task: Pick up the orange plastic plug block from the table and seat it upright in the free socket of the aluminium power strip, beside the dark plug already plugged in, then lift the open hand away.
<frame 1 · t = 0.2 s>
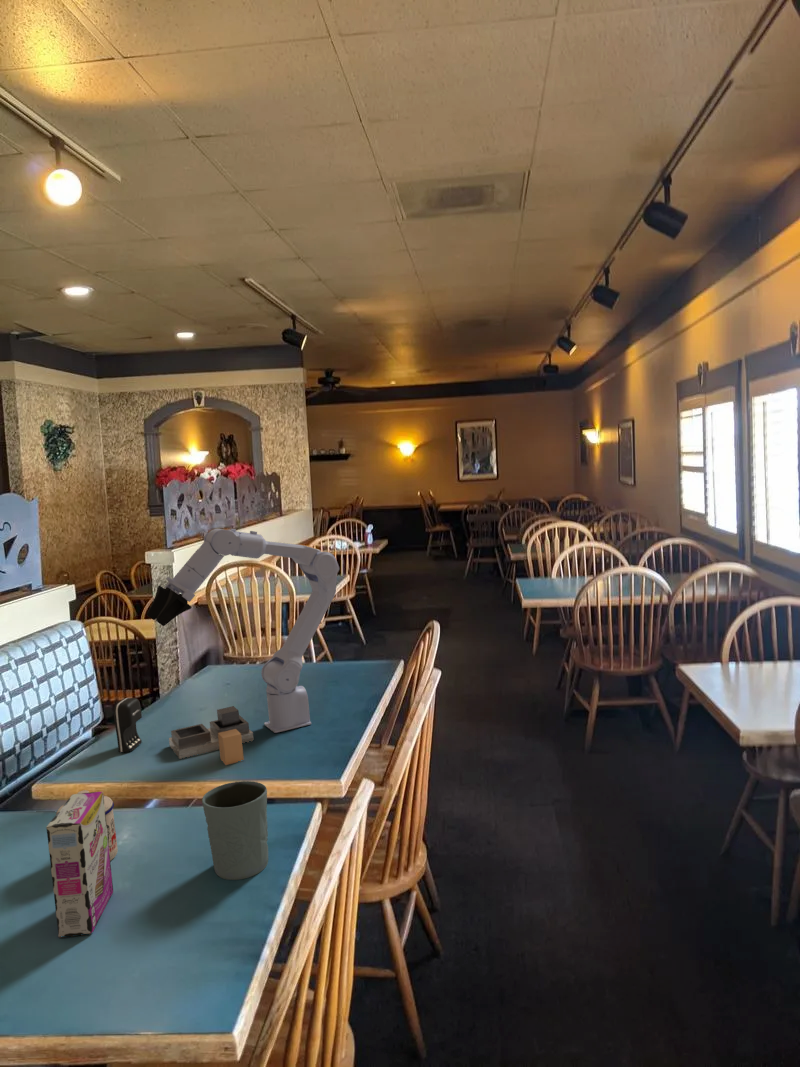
hand: (154, 620, 173), 31 cm above the table, tool tilted 45°, fingers open, 7 cm apart
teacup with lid: (92, 855, 133), on the table
plug: (232, 760, 171), on the table
battery: (132, 748, 183), on the table
power strip: (211, 743, 182), on the table
candy bar box: (88, 915, 115), on the table
grey cup: (241, 865, 126), on the table
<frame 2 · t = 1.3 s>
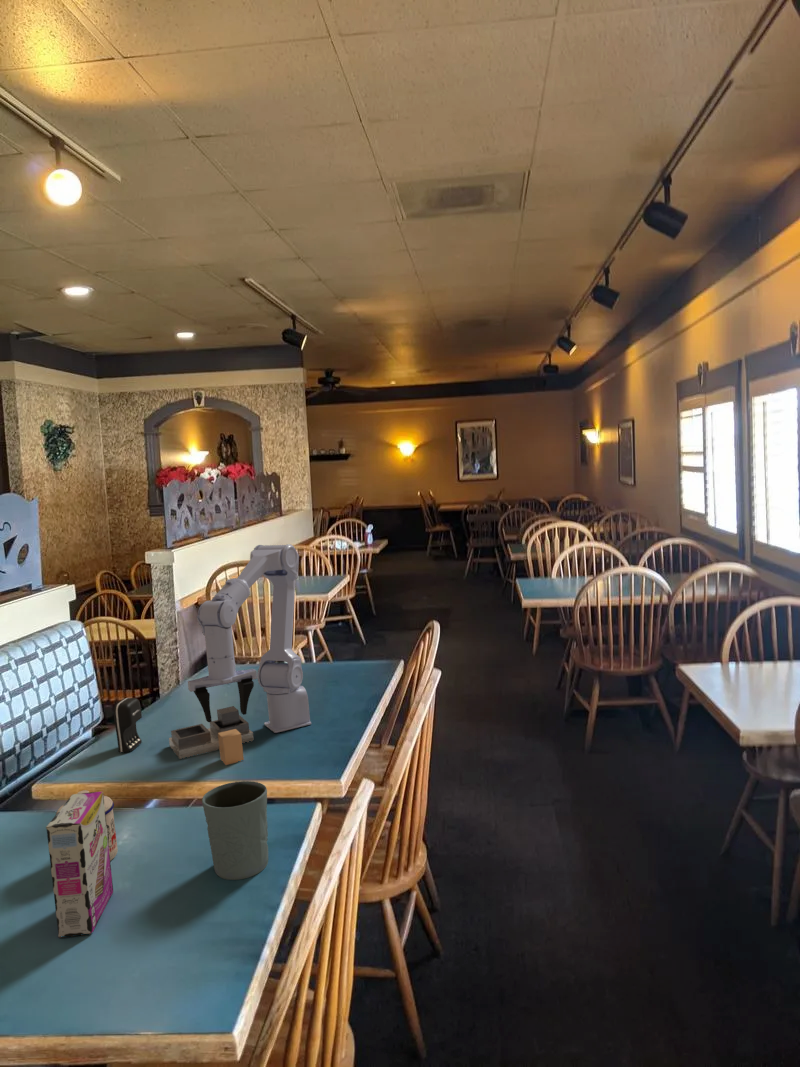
hand: (226, 717, 170), 10 cm above the table, tool pointing down, fingers open, 7 cm apart
nothing on the table moved.
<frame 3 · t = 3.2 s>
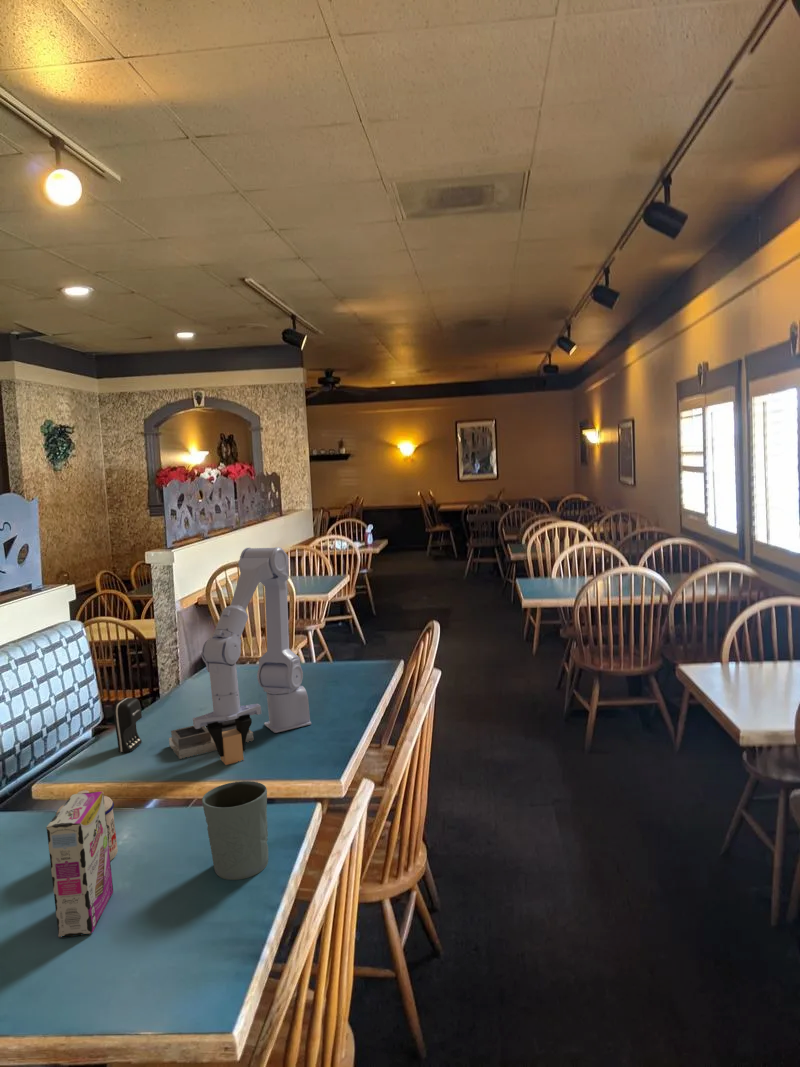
hand: (231, 752, 171), 2 cm above the table, tool pointing down, fingers closed on plug, 4 cm apart
plug: (232, 759, 171), on the table, touching gripper
everything else where it was.
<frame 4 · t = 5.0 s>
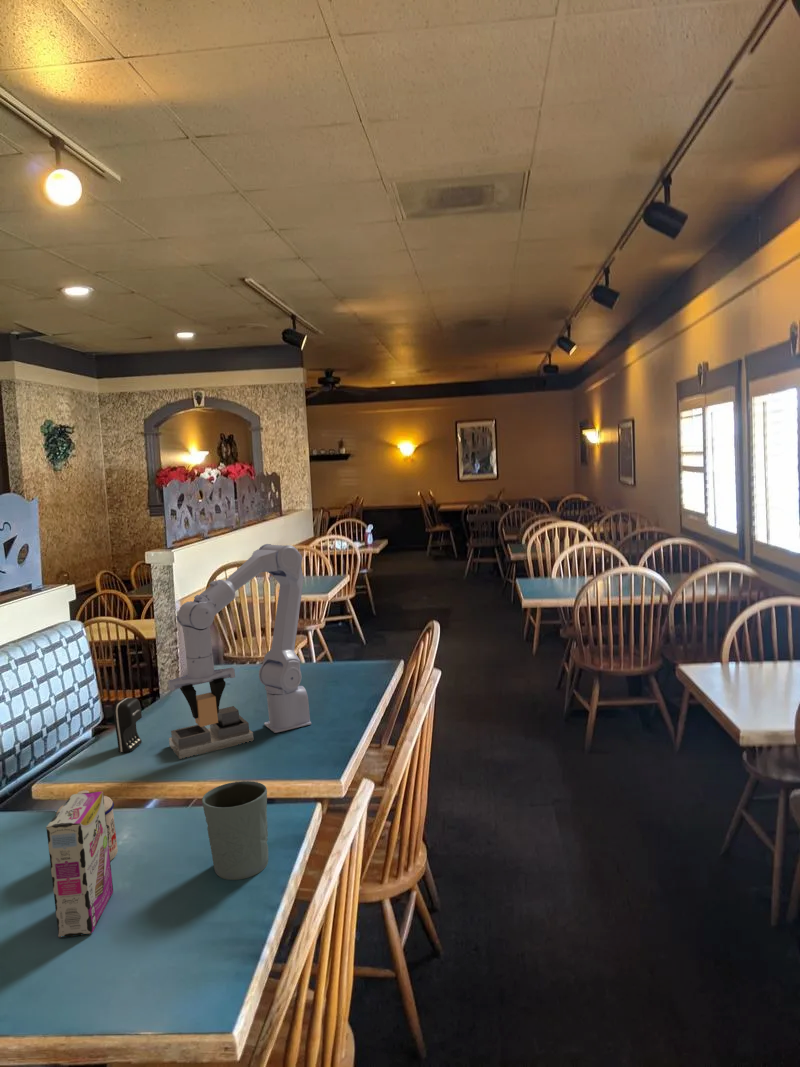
hand: (205, 714, 175), 9 cm above the table, tool pointing down, fingers closed on plug, 4 cm apart
plug: (206, 722, 175), point 7 cm above the table, touching gripper
everything else where it was.
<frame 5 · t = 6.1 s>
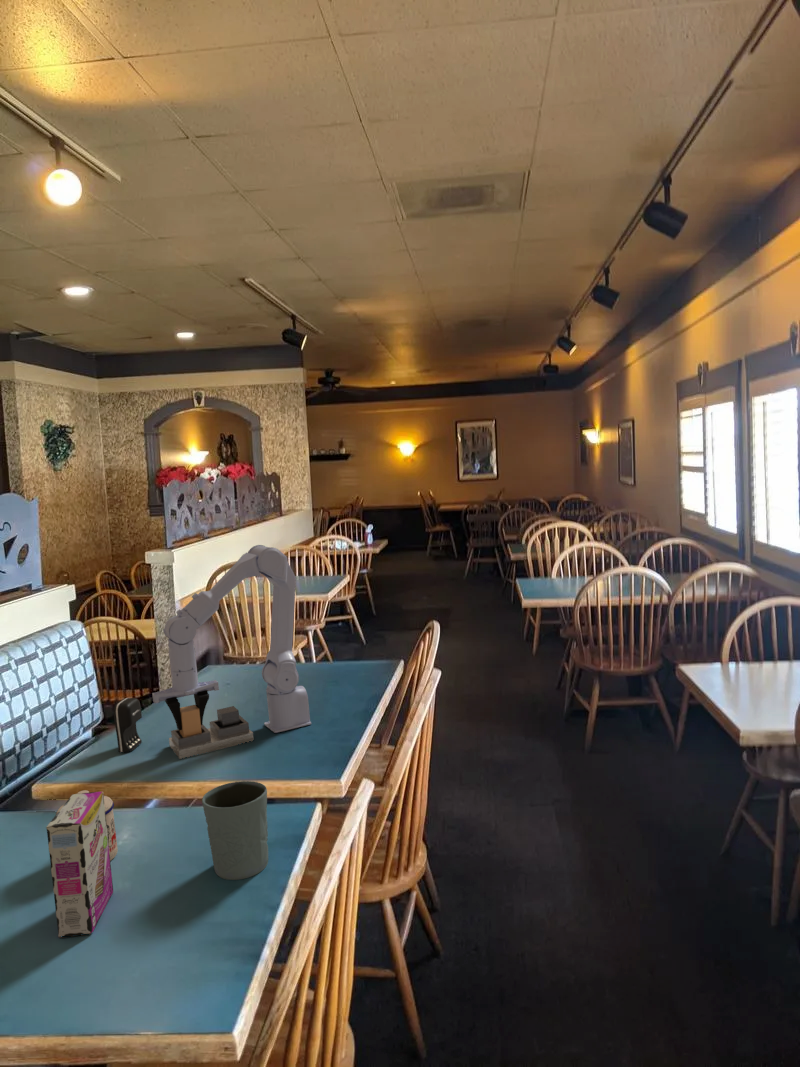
hand: (189, 726, 179), 5 cm above the table, tool pointing down, fingers closed on plug, 4 cm apart
plug: (190, 734, 179), point 3 cm above the table, touching gripper
everything else where it was.
when the fingers open (5 cm above the table, at t = 7.0 s): plug stays where it is, resting on power strip.
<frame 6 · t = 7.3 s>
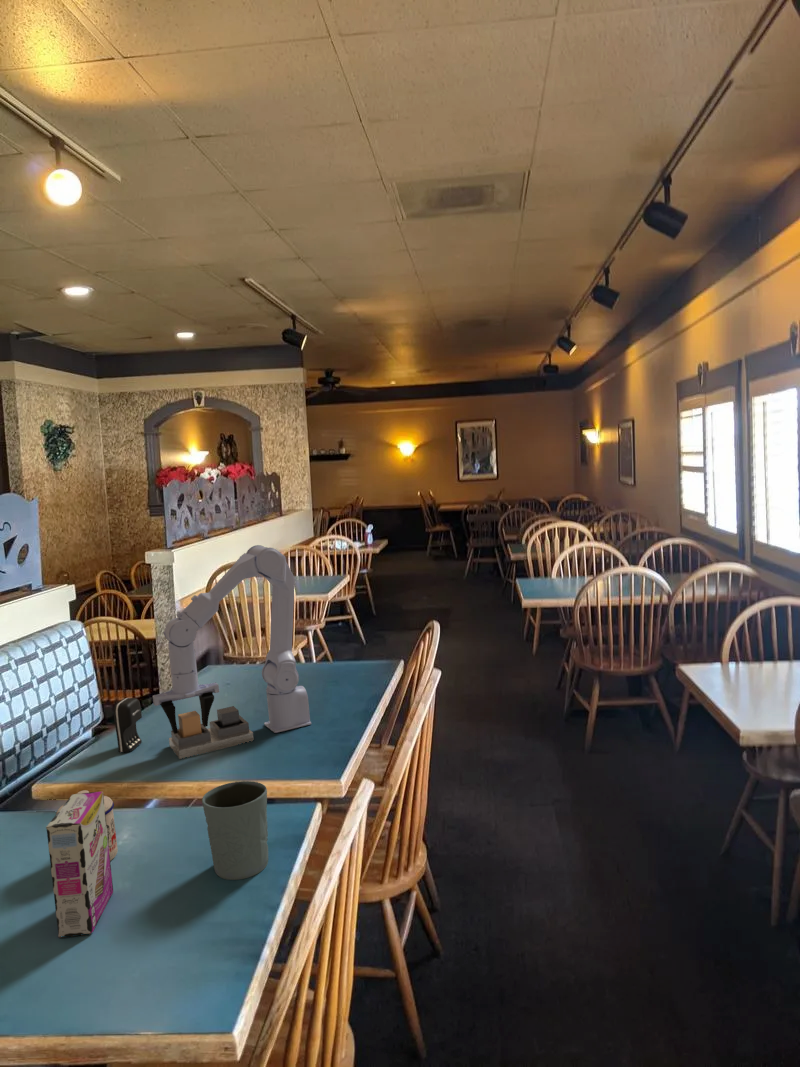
hand: (190, 728, 179), 5 cm above the table, tool pointing down, fingers open, 6 cm apart
plug: (191, 740, 179), point 2 cm above the table, touching power strip
everything else where it was.
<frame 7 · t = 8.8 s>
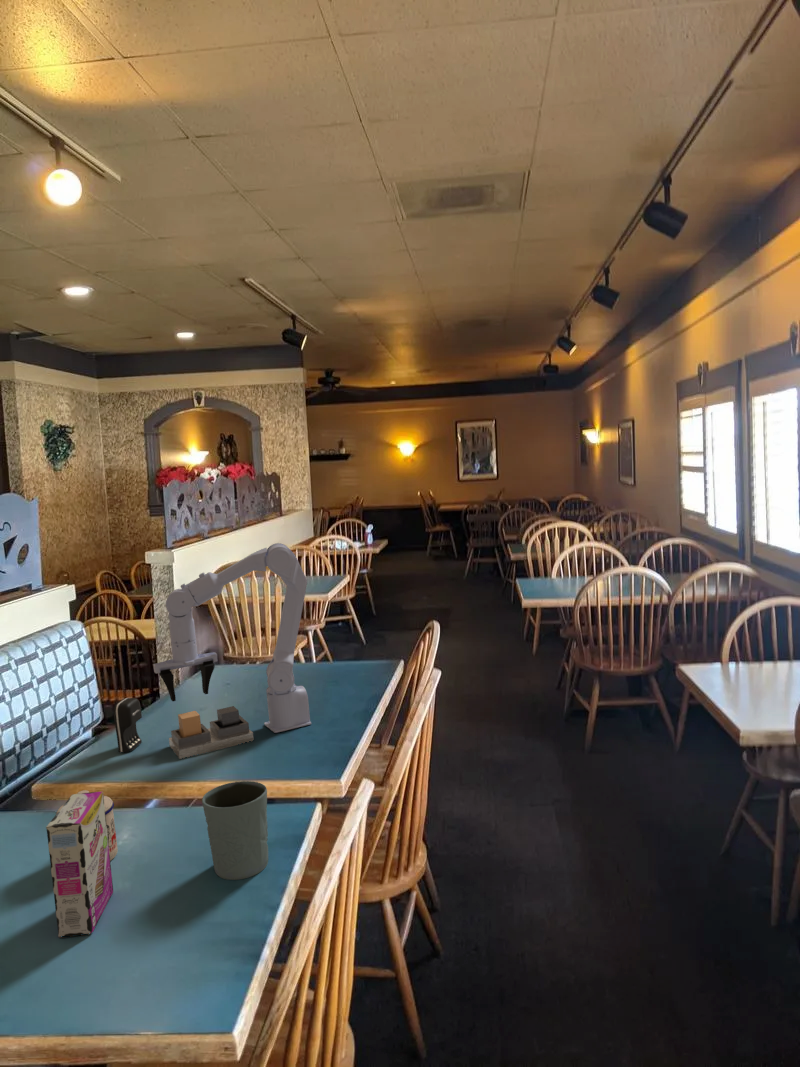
hand: (189, 696, 185), 10 cm above the table, tool pointing down, fingers open, 7 cm apart
nothing on the table moved.
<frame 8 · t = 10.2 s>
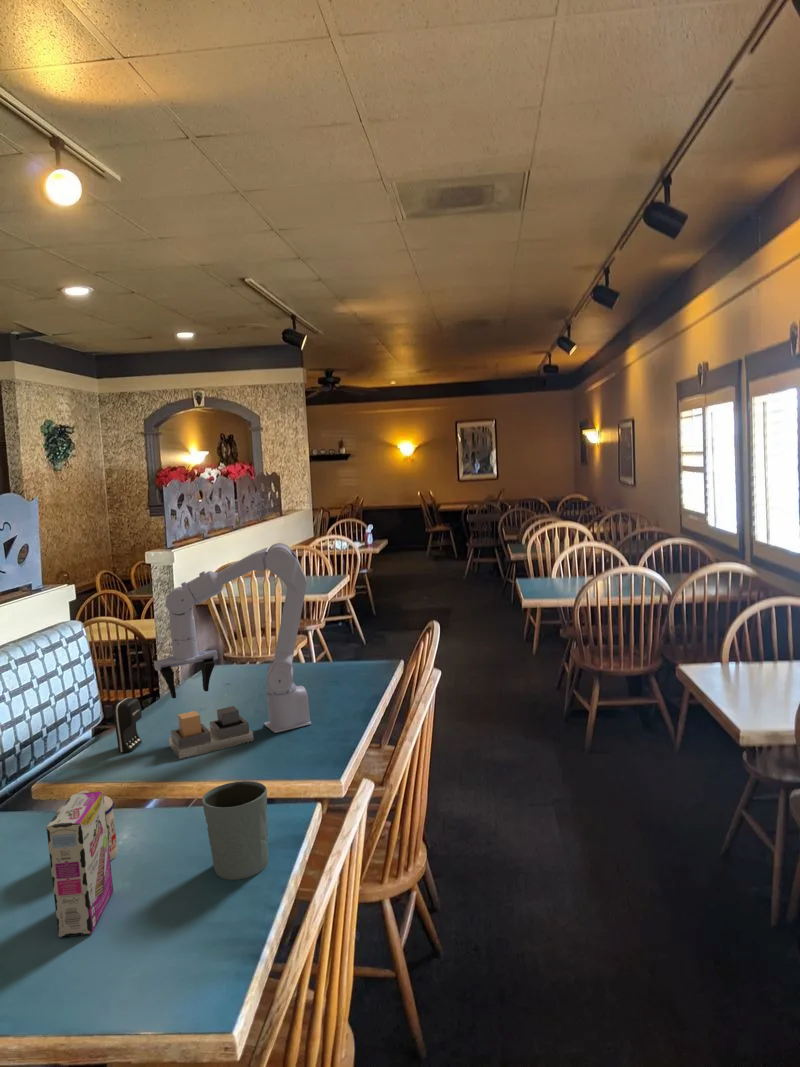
hand: (189, 693, 187), 10 cm above the table, tool pointing down, fingers open, 7 cm apart
nothing on the table moved.
at the end: plug 0.2 cm from the target spot on the power strip, point 2.0 cm above the power strip's base; plug tilted 0°; the gripper is holding nothing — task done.
